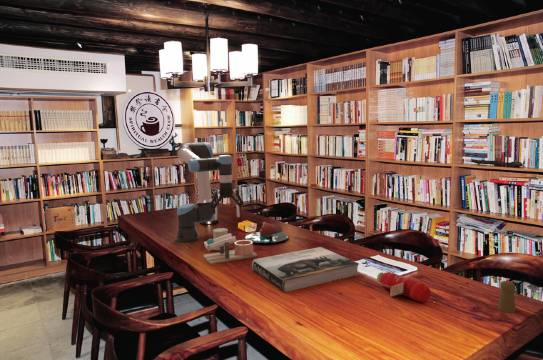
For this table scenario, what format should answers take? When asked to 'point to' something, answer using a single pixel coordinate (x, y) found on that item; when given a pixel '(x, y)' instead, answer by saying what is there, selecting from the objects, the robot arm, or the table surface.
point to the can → (219, 234)
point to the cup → (243, 247)
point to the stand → (225, 255)
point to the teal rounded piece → (267, 234)
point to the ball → (210, 241)
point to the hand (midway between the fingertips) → (227, 218)
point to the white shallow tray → (220, 242)
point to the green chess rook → (507, 297)
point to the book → (304, 268)
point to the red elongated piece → (404, 286)
